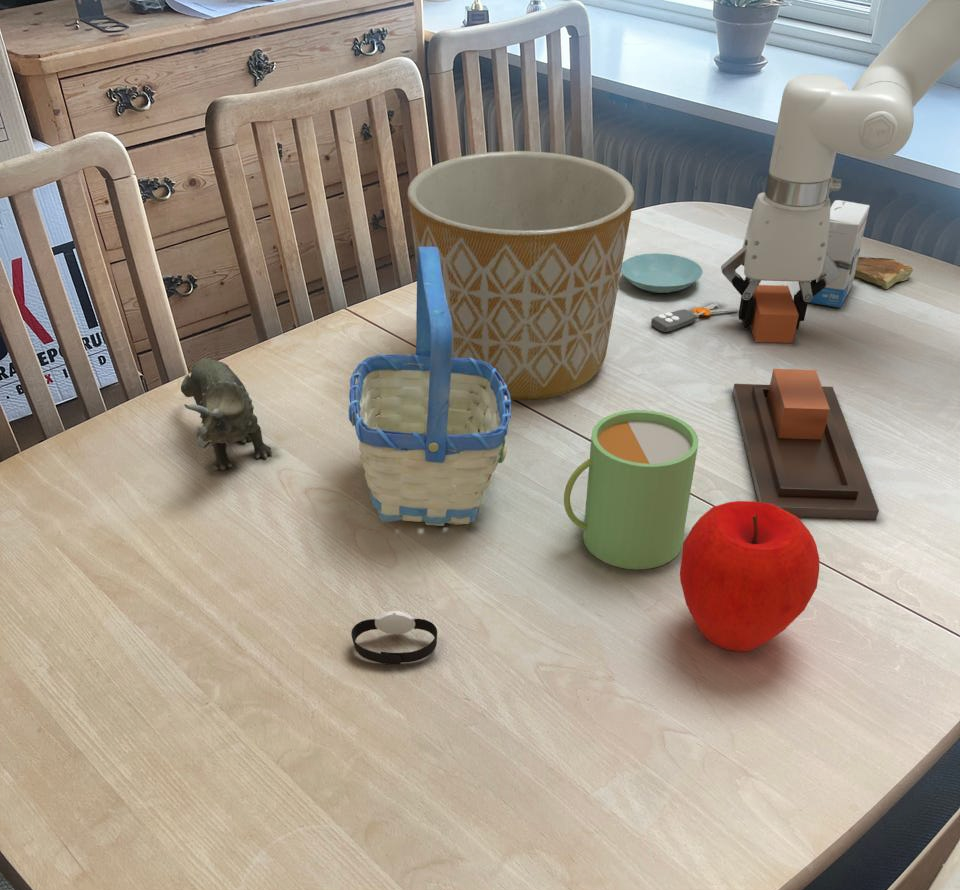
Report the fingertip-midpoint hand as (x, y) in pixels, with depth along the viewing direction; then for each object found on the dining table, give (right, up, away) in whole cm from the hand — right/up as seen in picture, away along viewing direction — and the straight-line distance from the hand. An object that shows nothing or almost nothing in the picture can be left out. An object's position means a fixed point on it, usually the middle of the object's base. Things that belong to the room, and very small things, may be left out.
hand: (769, 323), depth 142 cm
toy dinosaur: (-68, -21, -22) cm, 74 cm away
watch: (-47, -44, -47) cm, 80 cm away
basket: (-44, -26, -28) cm, 59 cm away
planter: (-35, -7, -7) cm, 36 cm away
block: (0, 0, 0) cm, 1 cm away
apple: (-16, -43, -45) cm, 64 cm away
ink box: (+11, +7, +8) cm, 15 cm away
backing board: (-3, -21, -22) cm, 31 cm away
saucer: (-13, +9, +11) cm, 19 cm away
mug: (-25, -33, -34) cm, 54 cm away
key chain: (-10, +1, +2) cm, 10 cm away
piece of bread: (+18, +10, +12) cm, 24 cm away
